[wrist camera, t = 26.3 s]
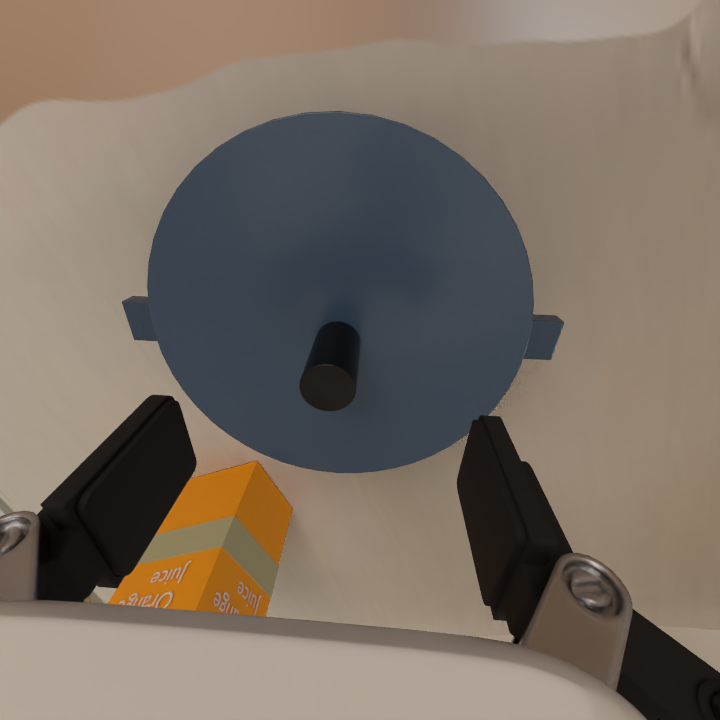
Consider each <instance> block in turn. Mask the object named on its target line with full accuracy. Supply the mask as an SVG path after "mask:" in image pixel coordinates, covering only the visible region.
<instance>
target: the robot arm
mask: <svg viewBox="0 0 720 720" xmlns="http://www.w3.org/2000/svg"><path fill="white" fill-rule="evenodd" d="M195 468H196V457H195V454H194V451H193V447H192V444H191V441H190V437H189V434H188V431H187V427H186V424H185V421H184V418H183V414H182V411H181V408H180V404H179V402H178V401H175V400H174V398H173V397H172V396H164V395H151V396H149V397H148V398H147V399H146V400H145V401H144V402H143V403H142V404H141V405H140V406H139V407H138V408H137V409H136V410H135V411H134V412H133V413H132V414H131V415H130V416H129V417H128V418H127V419H126V420H125V421H124V422H123V423H122V424H121V425H120V426H119V427H118V428H117V429H116V430H115V431H114V432H113V433H112V434H111V435H110V436H109V437H108V438H107V439H106V440H105V441H104V442H103V443H102V444H101V445H100V446H99V447H98V448H97V449H96V450H95V451H94V452H93V453H92V454H91V455H90V456H89V457H88V458H87V459H86V460H85V461H84V462H83V463H82V464H81V465H80V466H79V467H78V468H77V469H76V470H75V471H74V472H73V473H72V474H71V475H70V476H69V477H68V478H67V479H66V480H65V481H64V482H63V483H62V484H61V485H60V486H59V487H58V488H57V489H56V490H55V491H54V492H53V493H52V494H51V495H50V496H48V497H47V498H46V499H45V500H44V501H43V502H42V503H41V504H40V505H41V506H42V507H43V509H42V510H41V511H40V512H39V513H38V514H37V515H36V514H35V513H34V512H29V511H19V512H13V513H10V514H7V515H3V516H1V517H0V720H720V673H719V672H718V671H716V670H715V669H714V668H712V667H711V666H710V665H708V664H707V663H706V662H704V661H703V660H701V659H700V658H698V657H697V656H696V655H695V654H693V653H692V652H690V651H689V650H688V649H687V648H685V647H684V646H682V645H681V644H680V643H678V642H677V641H676V640H674V639H673V638H672V637H670V636H669V635H668V634H666V633H665V632H663V631H662V630H661V629H659V628H658V627H657V626H655V625H654V624H653V623H651V622H650V621H649V620H647V619H646V618H644V617H643V616H642V615H640V614H639V613H638V612H636V611H635V610H634V609H632V601H631V598H630V595H629V592H628V590H627V589H626V587H625V586H624V584H623V583H622V581H621V580H620V579H619V578H618V577H617V576H616V574H615V573H614V572H613V571H612V570H611V569H609V568H608V567H607V566H605V565H604V564H603V563H601V562H600V561H598V560H596V559H594V558H592V557H590V556H588V555H584V554H580V553H573V551H572V549H571V547H570V545H569V543H568V541H567V539H566V537H565V535H564V533H563V531H562V529H561V527H560V525H559V523H558V521H557V519H556V517H555V514H554V512H553V510H552V508H551V506H550V504H549V502H548V500H547V498H546V496H545V494H544V492H543V490H542V488H541V486H540V484H539V482H538V480H537V478H536V476H535V473H534V471H533V469H532V468H531V466H530V465H529V464H528V463H527V462H524V461H521V460H520V458H519V456H518V454H517V451H516V449H515V447H514V445H513V443H512V441H511V438H510V436H509V434H508V432H507V430H506V428H505V425H504V423H503V421H502V419H501V418H500V417H499V416H484V415H481V416H479V418H478V420H473V421H472V424H471V428H470V432H469V436H468V439H467V443H466V447H465V451H464V455H463V458H462V462H461V466H460V470H459V474H458V478H457V489H458V494H459V498H460V503H461V507H462V512H463V516H464V520H465V525H466V529H467V534H468V538H469V542H470V547H471V551H472V556H473V560H474V564H475V569H476V573H477V578H478V582H479V586H480V591H481V595H482V599H483V602H484V604H485V605H486V606H490V607H491V611H492V615H493V619H494V620H502V621H507V624H508V628H509V632H510V633H511V634H512V635H513V636H514V637H513V640H512V642H511V643H509V642H504V641H498V640H491V639H485V638H479V637H472V636H463V635H454V634H445V633H436V632H427V631H418V630H408V629H397V628H386V627H375V626H364V625H353V624H342V623H331V622H320V621H309V620H297V619H285V618H274V617H262V616H251V615H239V614H227V613H215V612H203V611H191V610H179V609H166V608H154V607H141V606H128V605H116V604H103V603H91V597H90V594H91V593H92V591H93V590H94V588H95V587H96V585H97V586H98V587H108V588H118V587H119V585H120V583H121V582H122V580H123V579H124V577H125V576H128V575H129V574H131V573H132V571H133V570H134V569H135V567H136V565H137V564H138V562H139V561H140V559H141V557H142V556H143V554H144V552H145V551H146V549H147V547H148V546H149V544H150V543H151V541H152V539H153V538H154V536H155V534H156V533H157V531H158V530H159V528H160V526H161V525H162V523H163V521H164V520H165V518H166V516H167V515H168V513H169V512H170V510H171V508H172V507H173V505H174V503H175V502H176V500H177V499H178V497H179V495H180V494H181V492H182V490H183V489H184V487H185V486H186V484H187V482H188V481H189V479H190V477H191V476H192V474H193V472H194V471H195Z"/></svg>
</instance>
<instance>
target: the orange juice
mask: <svg viewBox="0 0 720 720" xmlns="http://www.w3.org/2000/svg"><path fill="white" fill-rule="evenodd" d="M291 513H292V507H291V506H290V505H289V503H288V502H287V501H286V499H285V498H284V497H283V495H282V494H281V492H280V491H279V490H278V488H277V487H276V486H275V484H274V483H273V482H272V480H271V479H270V477H269V476H268V475H267V473H266V472H265V471H264V469H263V468H262V467H261V465H260V464H259V463H258V461H254V462H251V463H247V464H243V465H240V466H236V467H232V468H229V469H225V470H221V471H218V472H214V473H211V474H207V475H203V476H200V477H196V478H192V479H189V481H188V482H187V484H186V486H185V487H184V489H183V490H182V492H181V494H180V495H179V497H178V499H177V500H176V502H175V503H174V505H173V507H172V508H171V510H170V512H169V513H168V515H167V516H166V518H165V520H164V521H163V523H162V525H161V526H160V528H159V530H158V531H157V533H156V534H155V536H154V538H153V539H152V541H151V543H150V544H149V546H148V547H147V549H146V551H145V552H144V554H143V556H142V557H141V559H140V561H139V562H138V564H137V565H136V567H135V569H134V570H133V571H132V573H131V574H129V575H128V576H125V577H124V579H123V580H122V582H121V583H120V585H119V587H118V588H117V590H116V591H115V593H114V594H113V596H112V598H111V599H110V601H109V602H108V604H116V605H128V606H141V607H154V608H166V609H179V610H191V611H203V612H215V613H227V614H239V615H251V616H262V617H266V613H267V609H268V605H269V601H270V598H271V596H272V592H273V587H274V583H275V579H276V575H277V571H278V567H279V566H278V565H279V561H280V557H281V553H282V549H283V545H284V541H285V537H286V533H287V529H288V525H289V521H290V517H291Z"/></svg>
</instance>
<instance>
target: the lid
mask: <svg viewBox="0 0 720 720" xmlns="http://www.w3.org/2000/svg"><path fill="white" fill-rule="evenodd" d="M147 288H148V300H149V311H150V315H151V320H152V324H153V328H154V333H155V336H156V338H157V341H158V344H159V346H160V349H161V352H162V354H163V356H164V358H165V360H166V362H167V364H168V366H169V368H170V370H171V372H172V374H173V375H174V377H175V378H176V380H177V381H178V383H179V384H180V386H181V387H182V389H183V390H184V392H185V393H186V394H187V395H188V397H189V398H190V399H191V400H192V401H193V403H194V404H195V405H196V406H197V407H198V408H199V409H200V410H201V411H202V412H203V413H204V414H205V415H206V416H207V417H208V418H209V419H210V420H211V421H212V422H213V423H215V424H216V425H217V426H218V427H220V428H221V429H222V430H223V431H225V432H226V433H227V434H229V435H230V436H232V437H233V438H235V439H236V440H238V441H240V442H241V443H243V444H244V445H246V446H248V447H250V448H252V449H254V450H256V451H258V452H260V453H262V454H264V455H266V456H269V457H271V458H274V459H276V460H279V461H281V462H284V463H288V464H291V465H295V466H298V467H302V468H307V469H312V470H317V471H326V472H335V473H363V472H375V471H381V470H387V469H392V468H397V467H400V466H404V465H407V464H411V463H414V462H417V461H419V460H422V459H424V458H427V457H429V456H432V455H434V454H436V453H438V452H440V451H441V450H443V449H445V448H447V447H449V446H451V445H452V444H454V443H455V442H457V441H458V440H460V439H461V438H463V437H464V436H466V435H467V434H468V433H469V432H470V428H471V424H472V421H473V420H478V418H479V416H481V415H484V416H488V415H489V413H490V412H491V411H492V410H493V409H494V408H495V407H496V406H497V404H498V403H499V402H500V400H501V399H502V397H503V396H504V395H505V393H506V392H507V391H508V389H509V387H510V385H511V383H512V382H513V380H514V378H515V376H516V374H517V372H518V370H519V368H520V365H521V363H522V360H523V357H524V355H525V352H526V349H527V345H528V341H529V337H530V332H531V328H532V317H533V306H534V299H533V281H532V274H531V270H530V265H529V260H528V255H527V251H526V249H525V246H524V243H523V241H522V238H521V235H520V233H519V230H518V227H517V225H516V223H515V222H514V220H513V218H512V216H511V215H510V213H509V211H508V209H507V207H506V206H505V204H504V202H503V201H502V199H501V198H500V197H499V195H498V194H497V193H496V192H495V190H494V189H493V188H492V187H491V185H490V184H489V183H488V182H487V180H486V179H485V178H484V177H483V176H482V175H481V174H480V173H479V172H478V171H477V170H476V169H475V168H474V167H472V166H471V165H470V164H469V163H468V162H467V161H466V160H465V159H464V158H463V157H462V156H460V155H459V154H457V153H456V152H454V151H453V150H451V149H450V148H448V147H447V146H445V145H444V144H442V143H441V142H439V141H438V140H436V139H435V138H433V137H431V136H429V135H427V134H425V133H422V132H420V131H418V130H416V129H414V128H412V127H409V126H407V125H405V124H402V123H399V122H395V121H392V120H388V119H384V118H381V117H377V116H374V115H368V114H359V113H351V112H342V111H330V112H309V113H301V114H297V115H292V116H287V117H283V118H278V119H273V120H271V121H268V122H266V123H263V124H261V125H258V126H256V127H253V128H251V129H248V130H246V131H243V132H242V133H240V134H238V135H237V136H235V137H233V138H232V139H230V140H229V141H227V142H225V143H224V144H222V145H220V146H219V147H217V148H216V149H215V150H214V151H213V152H211V153H210V154H209V155H208V156H207V157H206V158H204V159H203V160H202V161H201V162H200V163H199V164H198V165H196V166H195V167H194V169H193V170H192V171H191V172H190V173H189V175H188V176H187V177H186V178H185V179H184V181H183V182H182V183H181V184H180V186H179V187H178V188H177V189H176V191H175V193H174V195H173V196H172V198H171V200H170V202H169V203H168V205H167V207H166V208H165V210H164V212H163V214H162V217H161V220H160V222H159V225H158V228H157V230H156V233H155V236H154V239H153V244H152V249H151V253H150V258H149V266H148V283H147Z"/></svg>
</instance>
